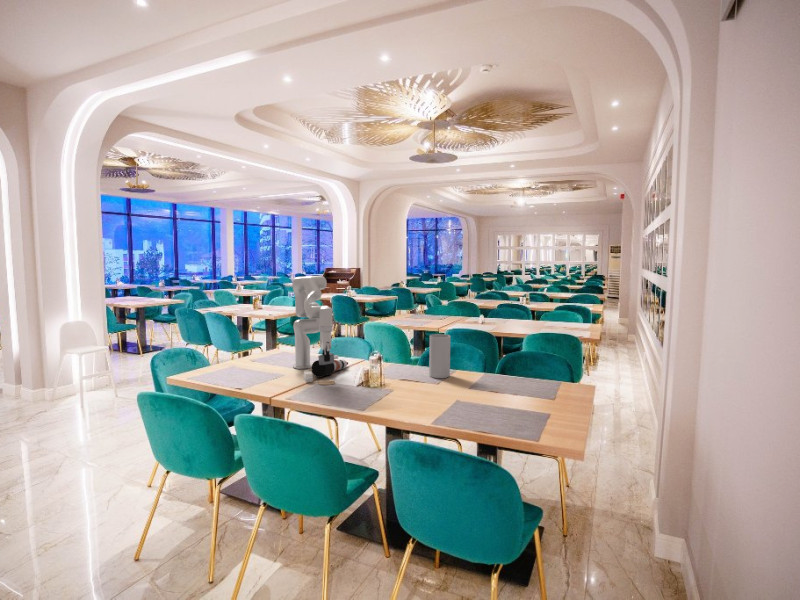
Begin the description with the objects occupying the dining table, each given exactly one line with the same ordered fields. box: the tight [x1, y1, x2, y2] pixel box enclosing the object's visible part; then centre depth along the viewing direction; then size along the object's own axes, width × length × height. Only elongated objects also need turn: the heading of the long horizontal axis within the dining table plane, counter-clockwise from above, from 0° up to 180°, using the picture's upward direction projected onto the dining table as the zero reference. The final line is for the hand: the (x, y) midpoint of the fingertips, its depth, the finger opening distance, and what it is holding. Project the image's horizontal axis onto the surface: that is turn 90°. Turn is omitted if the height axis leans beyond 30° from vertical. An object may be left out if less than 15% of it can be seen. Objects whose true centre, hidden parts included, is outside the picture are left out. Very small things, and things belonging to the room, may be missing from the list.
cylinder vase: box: [428, 333, 451, 379], centre depth 277 cm, size 12×12×25 cm
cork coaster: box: [317, 379, 336, 386], centre depth 262 cm, size 10×10×1 cm
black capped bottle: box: [311, 359, 349, 378], centre depth 287 cm, size 10×34×10 cm, turn 156°
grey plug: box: [317, 352, 339, 365], centre depth 261 cm, size 11×4×5 cm, turn 112°
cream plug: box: [303, 369, 314, 383], centre depth 266 cm, size 11×4×5 cm, turn 21°
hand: (326, 360), depth 261 cm, fingers closed on grey plug, 4 cm apart
